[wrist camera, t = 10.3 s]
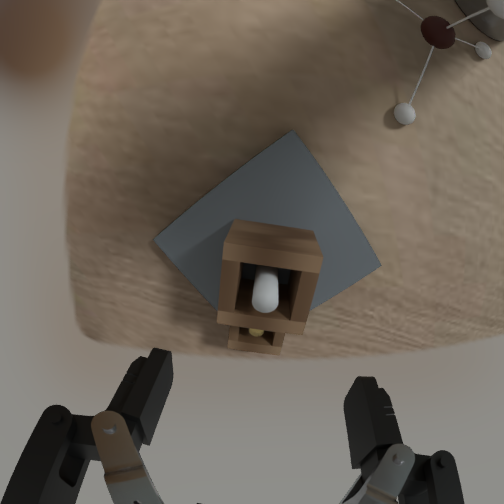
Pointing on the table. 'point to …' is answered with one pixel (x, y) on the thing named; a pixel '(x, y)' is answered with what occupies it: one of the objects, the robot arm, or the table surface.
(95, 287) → the table surface
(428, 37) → the molecular model
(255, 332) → the brass dowel
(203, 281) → the slate board
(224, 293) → the brown hollow open box
